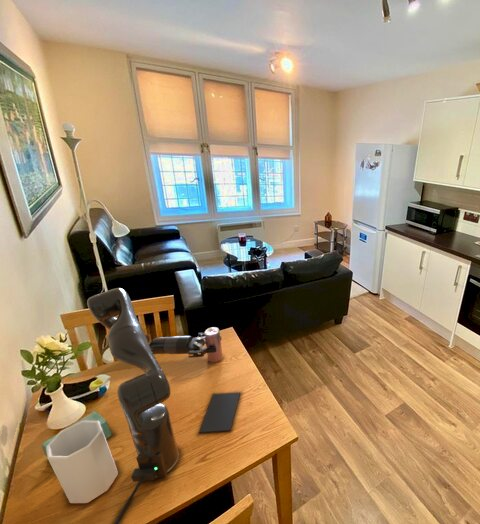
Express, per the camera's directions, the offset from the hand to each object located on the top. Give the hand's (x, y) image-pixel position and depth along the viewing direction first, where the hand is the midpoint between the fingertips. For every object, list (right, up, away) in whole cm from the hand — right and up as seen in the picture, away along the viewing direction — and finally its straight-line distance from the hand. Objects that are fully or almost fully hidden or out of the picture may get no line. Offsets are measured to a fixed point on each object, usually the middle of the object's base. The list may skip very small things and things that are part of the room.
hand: (218, 343), depth 127 cm
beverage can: (-3, -7, +3) cm, 8 cm away
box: (-26, -22, -37) cm, 51 cm away
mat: (+11, -19, -22) cm, 31 cm away
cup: (-15, -27, -46) cm, 55 cm away
